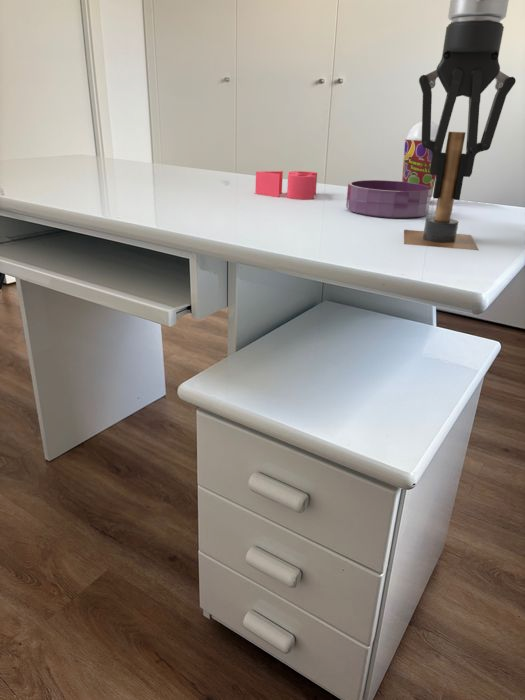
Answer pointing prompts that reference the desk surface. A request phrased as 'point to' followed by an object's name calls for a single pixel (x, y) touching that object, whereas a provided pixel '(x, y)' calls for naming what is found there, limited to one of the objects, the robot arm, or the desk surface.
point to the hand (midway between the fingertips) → (445, 197)
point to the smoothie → (418, 157)
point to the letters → (298, 184)
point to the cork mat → (459, 243)
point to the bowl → (388, 198)
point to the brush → (446, 194)
